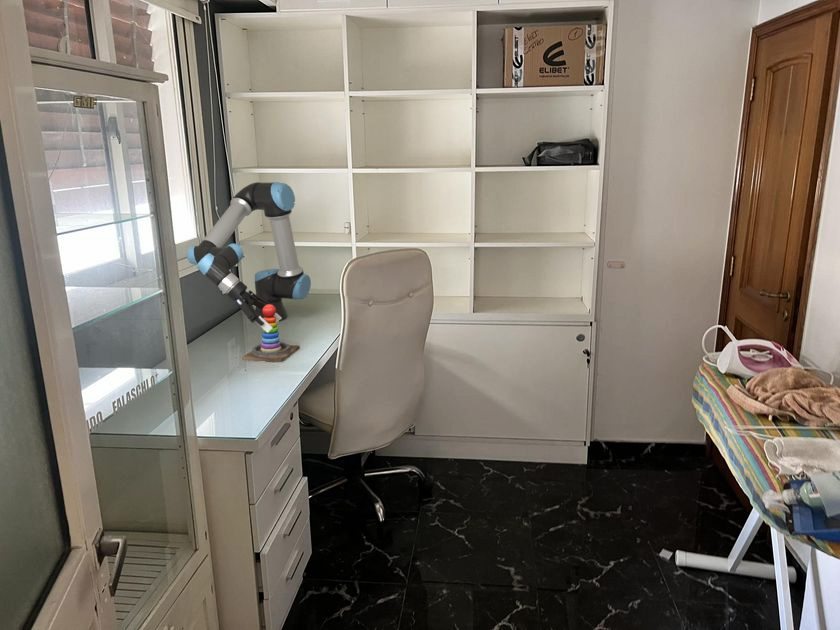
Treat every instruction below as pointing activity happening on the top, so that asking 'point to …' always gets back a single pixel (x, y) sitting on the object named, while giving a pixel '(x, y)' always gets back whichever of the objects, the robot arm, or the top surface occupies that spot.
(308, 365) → the top surface
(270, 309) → the stacking toy
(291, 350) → the collar board
